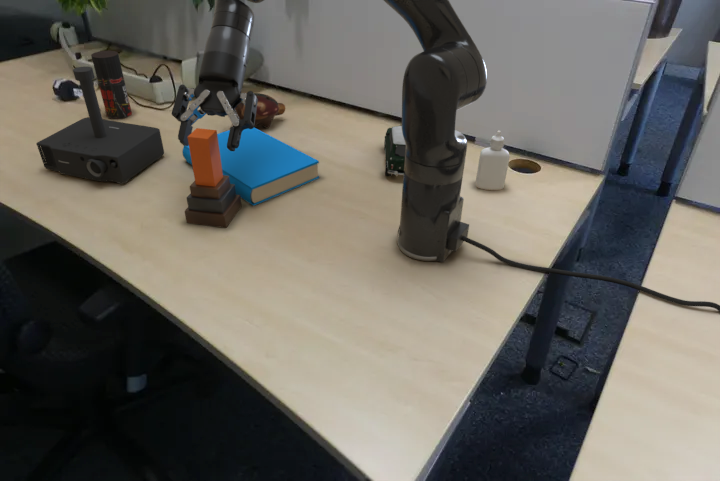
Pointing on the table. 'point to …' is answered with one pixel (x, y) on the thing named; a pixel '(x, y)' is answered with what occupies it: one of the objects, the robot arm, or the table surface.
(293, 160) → the book
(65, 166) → the projector
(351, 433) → the table surface
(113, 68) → the deodorant
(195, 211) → the brown stepped pyramid
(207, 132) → the bar
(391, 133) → the miniature car
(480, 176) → the eye dropper bottle
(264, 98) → the decorative turtle
